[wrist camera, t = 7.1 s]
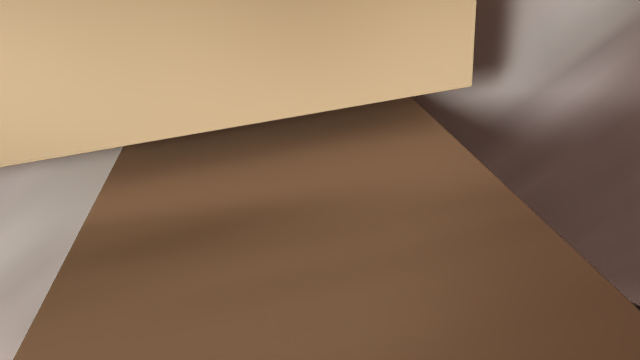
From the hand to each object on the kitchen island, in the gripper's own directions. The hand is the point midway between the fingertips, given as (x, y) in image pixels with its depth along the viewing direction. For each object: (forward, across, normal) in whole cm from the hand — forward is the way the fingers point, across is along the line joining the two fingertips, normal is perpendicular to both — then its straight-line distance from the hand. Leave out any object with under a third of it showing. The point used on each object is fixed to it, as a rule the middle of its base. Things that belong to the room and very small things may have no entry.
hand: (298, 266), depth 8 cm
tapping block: (+1, 0, 0) cm, 1 cm away
